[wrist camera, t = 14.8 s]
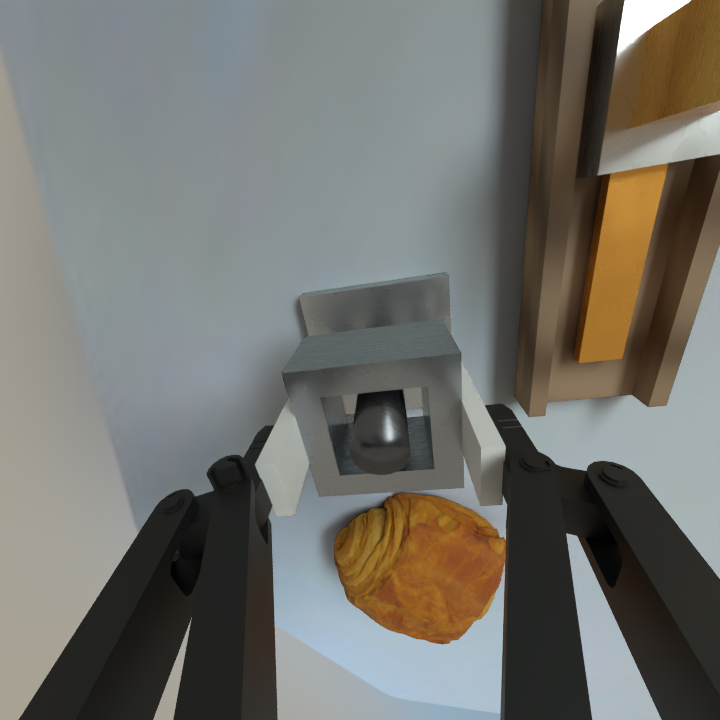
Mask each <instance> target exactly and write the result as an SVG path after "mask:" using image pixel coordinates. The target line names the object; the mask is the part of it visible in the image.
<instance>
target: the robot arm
mask: <svg viewBox="0 0 720 720" xmlns="http://www.w3.org/2000/svg"><path fill="white" fill-rule="evenodd" d="M461 367H462V446H463V455H464V458H465V461H466V464H467V467H468V470H469V473H470V476H471V479H472V482H473V485H474V488H475V491H476V494H477V497H478V500H479V503H480V506H490V505H502V502H503V496H504V498H505V500H506V503H507V520H506V559H505V591H504V623H503V655H502V687H501V719H500V720H592V715H591V708H590V701H589V694H588V687H587V680H586V673H585V665H584V658H583V651H582V644H581V637H580V630H579V623H578V615H577V608H576V601H575V594H574V587H573V580H572V573H571V566H570V558H569V551H568V544H567V537H566V533H568V534H572V535H576V536H578V538H579V541H580V543H581V545H582V547H583V549H584V552H585V554H586V556H587V558H588V560H589V562H590V565H591V567H592V569H593V571H594V573H595V575H596V578H597V580H598V582H599V584H600V586H601V589H602V591H603V593H604V595H605V597H606V599H607V602H608V604H609V606H610V608H611V610H612V613H613V615H614V617H615V619H616V621H617V623H618V626H619V628H620V630H621V632H622V634H623V636H624V639H625V641H626V643H627V645H628V647H629V650H630V652H631V654H632V656H633V658H634V660H635V663H636V665H637V667H638V669H639V671H640V674H641V676H642V678H643V680H644V682H645V684H646V687H647V689H648V691H649V693H650V695H651V697H652V700H653V702H654V704H655V706H656V708H657V711H658V713H659V715H660V717H661V719H662V720H720V579H719V578H718V576H717V575H716V574H715V572H714V571H713V570H712V569H711V567H710V566H709V565H708V564H707V562H706V561H705V560H704V558H703V557H702V556H701V555H700V553H699V552H698V551H697V550H696V548H695V547H694V546H693V544H692V543H691V542H690V541H689V539H688V538H687V537H686V535H685V534H684V533H683V532H682V530H681V529H680V528H679V527H678V525H677V524H676V523H675V521H674V520H673V519H672V518H671V516H670V515H669V514H668V513H667V511H666V510H665V509H664V507H663V506H662V505H661V504H660V502H659V501H658V500H657V498H656V497H655V496H654V495H653V493H652V492H651V491H650V490H649V488H648V487H647V486H646V484H645V483H644V482H643V481H642V479H641V478H640V477H639V476H638V475H637V474H636V473H635V472H633V471H632V470H630V469H628V468H627V467H625V466H623V465H620V464H617V463H614V462H607V461H598V462H594V463H592V464H590V465H589V466H588V468H587V471H583V470H577V469H570V468H565V467H561V466H558V465H556V464H555V463H554V462H553V461H552V460H551V459H550V458H549V457H548V456H546V455H544V454H542V453H540V452H538V451H537V449H536V448H535V446H534V444H533V443H532V441H531V440H530V438H529V437H528V435H527V433H526V432H525V430H524V429H523V427H521V424H520V423H519V421H518V420H517V418H516V416H515V415H514V413H513V412H512V410H510V409H509V408H508V407H506V406H505V405H503V404H494V405H484V403H483V401H482V400H481V398H480V396H479V394H478V392H477V390H476V388H475V386H474V384H473V382H472V380H471V378H470V376H469V374H468V372H467V371H466V369H465V367H464V365H463V363H462V361H461ZM308 466H309V460H308V457H307V454H306V451H305V447H304V444H303V441H302V437H301V434H300V431H299V428H298V424H297V421H296V418H295V416H294V413H293V410H292V406H291V403H290V400H289V397H288V399H287V401H286V403H285V405H284V407H283V409H282V411H281V413H280V415H279V417H278V419H277V421H276V423H275V425H272V426H265V427H264V428H263V429H261V430H260V431H259V432H258V433H257V435H256V436H255V438H254V440H253V443H252V444H251V445H250V447H249V450H248V451H247V452H246V454H245V456H244V458H243V457H241V456H240V455H230V456H226V457H224V458H222V459H220V460H218V461H217V462H215V463H214V464H213V465H212V466H211V467H210V468H209V470H208V472H207V476H208V478H209V480H210V482H211V484H212V486H213V488H214V491H212V492H209V493H206V494H202V495H199V496H196V497H195V496H194V494H193V493H192V491H190V490H188V489H182V490H179V491H175V492H173V493H171V494H170V495H168V496H166V497H165V498H164V499H163V500H161V501H160V502H159V504H158V505H157V506H156V507H155V509H154V510H153V512H152V513H151V515H150V517H149V518H148V520H147V521H146V523H145V524H144V526H143V527H142V529H141V531H140V532H139V534H138V535H137V537H136V539H135V540H134V541H133V543H132V545H131V546H130V548H129V549H128V551H127V552H126V554H125V555H124V557H123V559H122V560H121V562H120V563H119V565H118V566H117V568H116V569H115V571H114V573H113V574H112V576H111V577H110V579H109V580H108V582H107V583H106V585H105V587H104V588H103V590H102V591H101V593H100V595H99V596H98V597H97V599H96V601H95V602H94V604H93V605H92V607H91V608H90V610H89V611H88V613H87V615H86V616H85V618H84V619H83V621H82V622H81V624H80V625H79V627H78V629H77V630H76V632H75V633H74V635H73V636H72V638H71V639H70V641H69V643H68V644H67V646H66V647H65V649H64V650H63V652H62V654H61V655H60V657H59V658H58V660H57V661H56V663H55V664H54V666H53V667H52V669H51V671H50V672H49V674H48V675H47V677H46V678H45V680H44V681H43V683H42V685H41V686H40V688H39V689H38V691H37V692H36V694H35V695H34V697H33V699H32V700H31V702H30V703H29V705H28V706H27V708H26V709H25V711H24V713H23V714H22V716H21V717H20V719H19V720H153V718H154V716H155V713H156V710H157V708H158V705H159V702H160V699H161V697H162V694H163V692H164V689H165V686H166V684H167V681H168V678H169V676H170V673H171V670H172V668H173V665H174V662H175V660H176V657H177V655H178V652H179V649H180V647H181V644H182V641H183V639H184V636H185V633H186V631H187V628H188V625H189V623H190V620H191V617H192V620H191V625H190V631H189V636H188V643H187V647H186V653H185V659H184V664H183V670H182V675H181V681H180V686H179V692H178V698H177V703H176V709H175V714H174V720H277V690H276V659H275V628H274V596H273V565H272V534H271V522H270V519H269V517H268V516H269V513H270V511H271V508H273V510H274V513H275V515H276V516H293V515H295V512H296V508H297V505H298V501H299V498H300V494H301V491H302V487H303V484H304V480H305V477H306V473H307V470H308Z"/></svg>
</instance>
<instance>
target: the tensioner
mask: <svg viewBox="0 0 720 720" xmlns="http://www.w3.org/2000/svg"><path fill="white" fill-rule="evenodd" d="M717 154H720V0H603V1H602V2H601V3H600V4H599V5H598V6H597V10H596V18H595V26H594V33H593V41H592V49H591V57H590V65H589V73H588V81H587V89H586V97H585V105H584V113H583V120H582V128H581V136H580V144H579V152H578V160H577V168H576V176H575V179H577V178H584V177H591V176H598V175H602V181H601V187H600V193H599V200H598V206H597V212H596V218H595V225H594V231H593V237H592V243H591V250H590V256H589V262H588V269H587V275H586V281H585V287H584V294H583V300H582V306H581V313H580V319H579V325H578V331H577V338H576V344H575V350H574V356H573V359H574V360H575V361H576V362H578V363H585V362H595V361H605V360H614V359H622V357H623V353H624V349H625V345H626V340H627V336H628V332H629V328H630V324H631V319H632V315H633V311H634V307H635V302H636V298H637V294H638V290H639V286H640V281H641V277H642V273H643V269H644V264H645V260H646V256H647V252H648V248H649V243H650V239H651V235H652V231H653V227H654V222H655V218H656V214H657V210H658V205H659V201H660V197H661V193H662V189H663V184H664V180H665V176H666V172H667V167H668V163H671V162H677V161H683V160H688V159H694V158H700V157H705V156H711V155H717Z"/></svg>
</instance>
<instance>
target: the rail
mask: <svg viewBox="0 0 720 720" xmlns="http://www.w3.org/2000/svg"><path fill="white" fill-rule="evenodd" d="M602 1H603V0H543V2H542V17H541V31H540V45H539V59H538V73H537V87H536V101H535V116H534V130H533V144H532V158H531V172H530V186H529V200H528V215H527V229H526V243H525V257H524V271H523V285H522V299H521V314H520V328H519V342H518V356H517V370H516V384H515V398H516V399H517V401H518V402H519V404H520V405H521V407H522V408H523V409H524V411H525V412H526V414H527V415H528V417H536V416H545V413H546V405H547V402H556V401H567V400H578V399H589V398H601V397H612V396H623V395H633V396H634V397H636V398H637V399H638V400H640V401H641V402H642V403H643V404H645V405H646V406H647V407H655V406H666V405H667V402H668V399H669V396H670V393H671V390H672V387H673V384H674V381H675V378H676V375H677V372H678V369H679V366H680V363H681V360H682V357H683V354H684V351H685V348H686V345H687V342H688V339H689V336H690V333H691V330H692V327H693V324H694V320H695V317H696V314H697V311H698V308H699V305H700V302H701V299H702V296H703V293H704V290H705V287H706V284H707V281H708V278H709V275H710V272H711V269H712V266H713V263H714V260H715V257H716V254H717V251H718V248H719V245H720V154H717V155H711V156H705V157H700V158H694V159H688V160H683V161H677V162H671V163H668V167H667V172H666V176H665V180H664V184H663V189H662V193H661V197H660V201H659V205H658V210H657V214H656V218H655V222H654V227H653V231H652V235H651V239H650V243H649V248H648V252H647V256H646V260H645V264H644V269H643V273H642V277H641V281H640V286H639V290H638V294H637V298H636V302H635V307H634V311H633V315H632V319H631V324H630V328H629V332H628V336H627V340H626V345H625V349H624V353H623V357H622V359H614V360H605V361H595V362H585V363H578V362H576V361H575V360H574V359H573V356H574V350H575V344H576V338H577V331H578V325H579V319H580V313H581V306H582V300H583V294H584V287H585V281H586V275H587V269H588V262H589V256H590V250H591V243H592V237H593V231H594V225H595V218H596V212H597V206H598V200H599V193H600V187H601V181H602V175H598V176H591V177H584V178H577V179H575V176H576V168H577V160H578V152H579V144H580V136H581V128H582V120H583V113H584V105H585V97H586V89H587V81H588V73H589V65H590V57H591V49H592V41H593V33H594V26H595V18H596V10H597V6H598V5H599V4H600V3H601V2H602Z"/></svg>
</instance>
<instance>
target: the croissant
mask: <svg viewBox="0 0 720 720" xmlns="http://www.w3.org/2000/svg"><path fill="white" fill-rule="evenodd" d="M384 504H385V506H384V508H371V509H370V510H369V511H368V512H367V513H362V514H360V515H359V516H357V517H356V518H354V519H353V520H352V521H351V523H350V524H349V525H348V527H345V528H343V529H342V530H341V531H340V532H339V533H338V535H337V537H336V539H335V545H334V560H335V565H336V566H337V569H338V573H339V577H340V580H341V583H342V585H343V586H344V590H345V594H346V597H347V599H348V601H349V602H350V603H352V604H353V605H354V606H356V607H357V608H359V609H360V610H362V611H363V612H364V613H365V614H366V615H368V616H369V617H370V618H371V619H373V620H374V621H375V622H377V623H378V624H379V625H381V626H383V627H384V628H386V629H388V630H391V631H394V632H397V633H402V634H405V635H407V636H410V637H413V638H416V639H423V640H427V641H429V642H433V643H438V644H448V643H450V641H452V640H458V639H459V638H460V637H461V636H462V635H463V634H465V632H466V631H467V630H468V629H469V628H470V626H471V625H472V624H473V622H475V621H476V620H478V619H481V618H482V617H483V616H484V615H485V614H486V613H487V612H488V609H489V607H490V605H491V603H492V601H493V599H494V596H495V592H496V590H497V589H498V587H499V584H500V581H501V576H502V573H503V566H504V563H505V559H506V541H505V539H504V537H502V538H500V537H499V534H498V531H497V529H494V528H493V526H492V525H491V524H490V523H489V522H488V521H487V520H486V519H484V518H483V517H481V516H479V515H478V514H477V513H476V512H475V511H473V510H470V509H468V508H465V507H463V506H461V505H459V504H457V503H455V502H452V501H449V500H446V499H444V498H440V497H436V496H431V495H418V494H407V493H398V494H397V495H395V496H394V497H391V496H390V497H388V499H387V500H386V501H385V503H384Z"/></svg>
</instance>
